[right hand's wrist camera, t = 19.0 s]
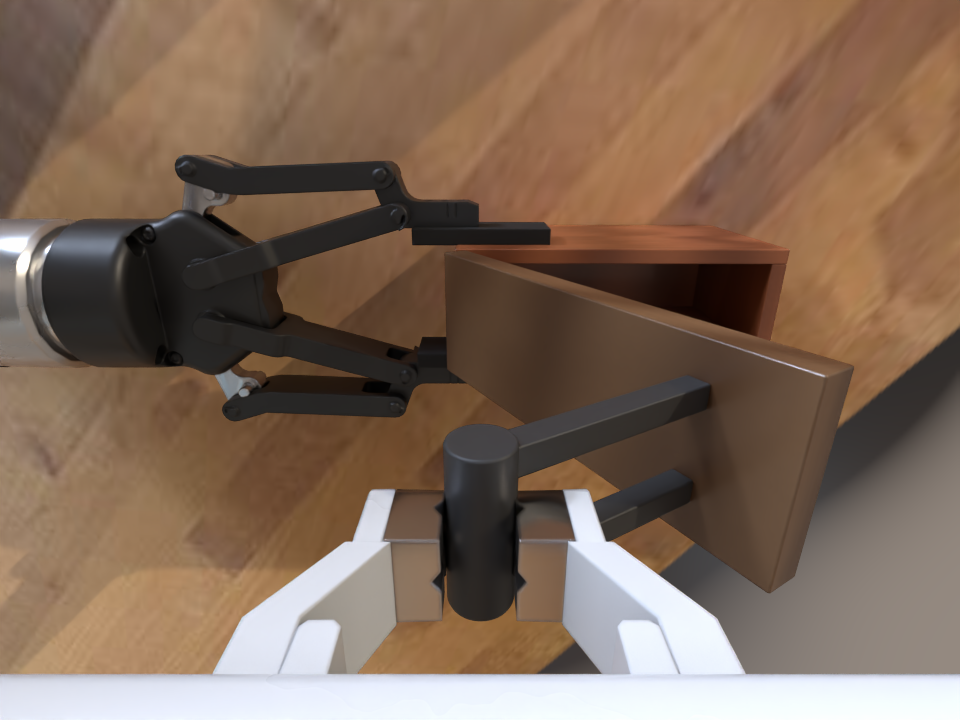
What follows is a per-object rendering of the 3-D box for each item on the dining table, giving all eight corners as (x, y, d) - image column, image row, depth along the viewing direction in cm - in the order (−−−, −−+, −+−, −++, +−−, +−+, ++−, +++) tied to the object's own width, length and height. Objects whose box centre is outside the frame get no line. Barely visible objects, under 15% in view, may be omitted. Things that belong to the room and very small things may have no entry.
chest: (711, 225, 32) (790, 249, 24) (697, 313, 34) (765, 363, 26) (461, 224, 32) (455, 249, 24) (462, 313, 34) (457, 362, 26)
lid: (856, 365, 11) (544, 484, 7) (795, 577, 13) (528, 762, 9) (465, 250, 23) (279, 268, 19) (466, 365, 25) (298, 402, 22)
